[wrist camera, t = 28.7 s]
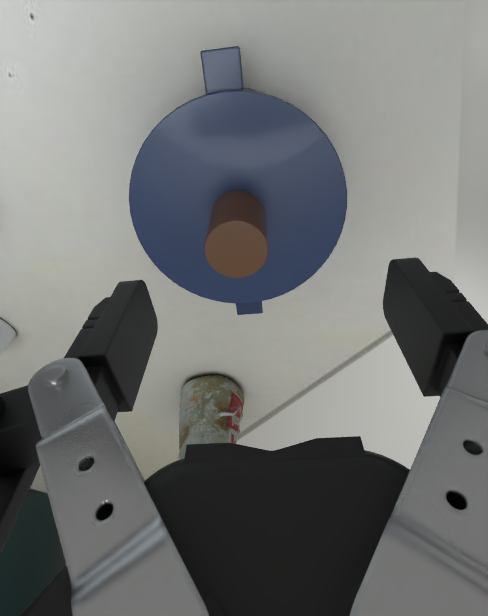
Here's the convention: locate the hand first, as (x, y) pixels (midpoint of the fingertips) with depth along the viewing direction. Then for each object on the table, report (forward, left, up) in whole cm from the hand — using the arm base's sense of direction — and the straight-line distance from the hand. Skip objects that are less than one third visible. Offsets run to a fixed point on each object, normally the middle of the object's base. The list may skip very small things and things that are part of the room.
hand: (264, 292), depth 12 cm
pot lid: (+2, +4, -16) cm, 16 cm away
